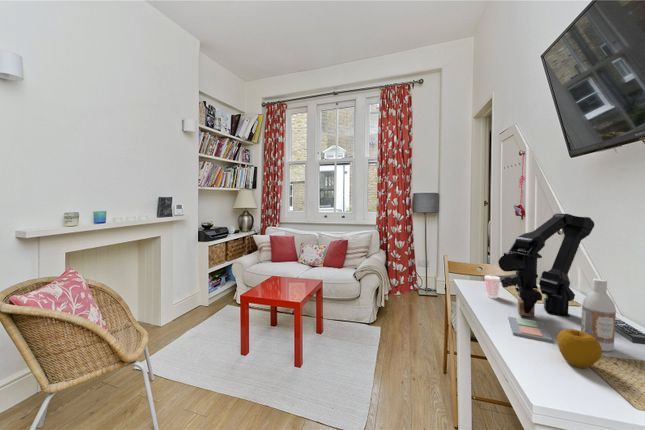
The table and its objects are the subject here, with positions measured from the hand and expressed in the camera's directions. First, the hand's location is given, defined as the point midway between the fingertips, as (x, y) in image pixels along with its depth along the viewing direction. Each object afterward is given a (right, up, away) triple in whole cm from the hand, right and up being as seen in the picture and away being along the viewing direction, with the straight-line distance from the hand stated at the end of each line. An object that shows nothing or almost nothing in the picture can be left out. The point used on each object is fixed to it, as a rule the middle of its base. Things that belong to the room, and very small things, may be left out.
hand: (525, 310), depth 102 cm
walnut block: (0, -1, 0) cm, 1 cm away
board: (-7, -3, -11) cm, 13 cm away
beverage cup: (+1, -1, +22) cm, 22 cm away
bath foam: (+5, -3, -21) cm, 22 cm away
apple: (-9, -4, -30) cm, 32 cm away
